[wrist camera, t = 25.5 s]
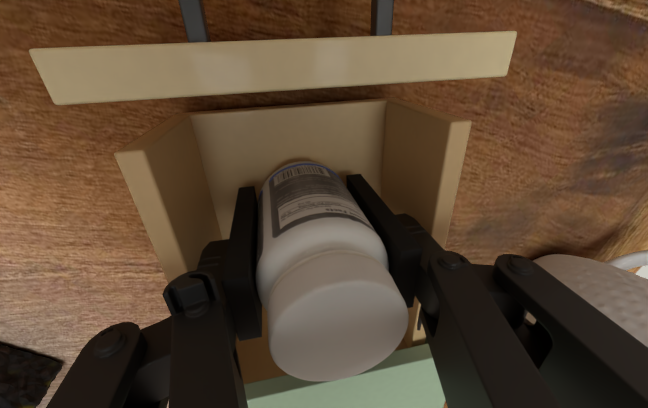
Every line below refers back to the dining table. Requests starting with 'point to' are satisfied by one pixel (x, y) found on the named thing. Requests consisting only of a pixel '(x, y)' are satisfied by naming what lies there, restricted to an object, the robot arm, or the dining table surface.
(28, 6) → the dining table surface
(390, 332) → the pill bottle
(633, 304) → the mug
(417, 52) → the drawer
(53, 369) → the candle
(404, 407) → the cabinet
